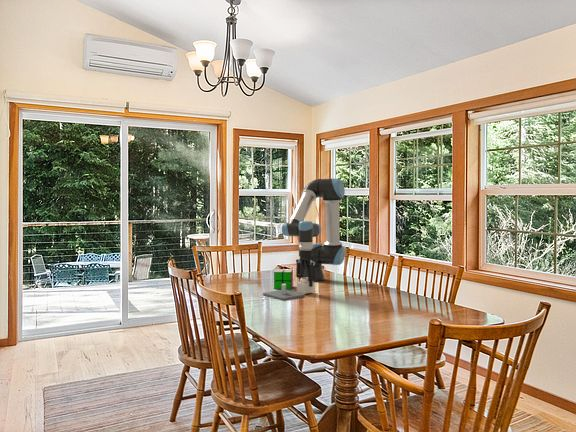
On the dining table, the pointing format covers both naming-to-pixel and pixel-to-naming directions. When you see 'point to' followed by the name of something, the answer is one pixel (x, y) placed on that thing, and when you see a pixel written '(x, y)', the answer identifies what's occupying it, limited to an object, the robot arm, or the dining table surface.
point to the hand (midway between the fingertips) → (305, 291)
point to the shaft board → (283, 294)
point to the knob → (303, 285)
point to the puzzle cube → (283, 279)
